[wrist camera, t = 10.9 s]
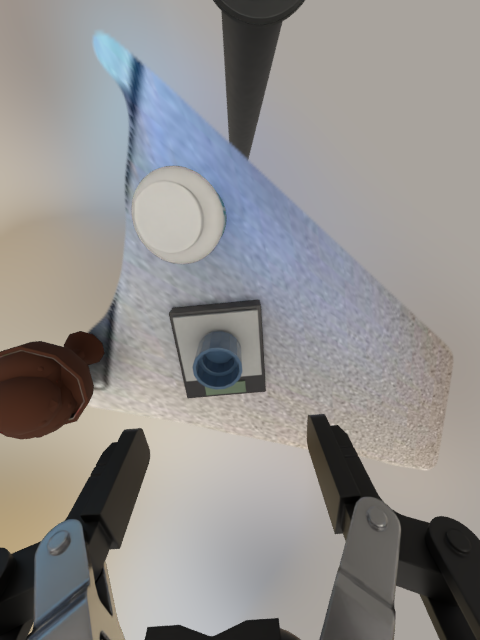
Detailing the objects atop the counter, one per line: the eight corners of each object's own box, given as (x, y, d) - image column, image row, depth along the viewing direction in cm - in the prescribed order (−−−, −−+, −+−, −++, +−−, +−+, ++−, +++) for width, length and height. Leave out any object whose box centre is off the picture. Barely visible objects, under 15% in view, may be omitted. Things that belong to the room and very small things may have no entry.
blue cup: (195, 331, 32) (188, 350, 27) (239, 327, 32) (240, 345, 27) (201, 368, 34) (196, 391, 29) (242, 364, 34) (244, 387, 29)
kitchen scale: (172, 307, 33) (167, 314, 31) (259, 299, 33) (261, 306, 30) (189, 389, 39) (186, 400, 36) (264, 382, 38) (266, 393, 36)
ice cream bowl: (45, 304, 32) (-94, 367, 19) (129, 327, 34) (58, 402, 20) (43, 367, 36) (-74, 458, 22) (118, 385, 38) (52, 481, 24)
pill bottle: (154, 193, 28) (90, 173, 15) (215, 173, 27) (200, 135, 15) (178, 257, 30) (140, 283, 18) (234, 240, 30) (234, 256, 17)
